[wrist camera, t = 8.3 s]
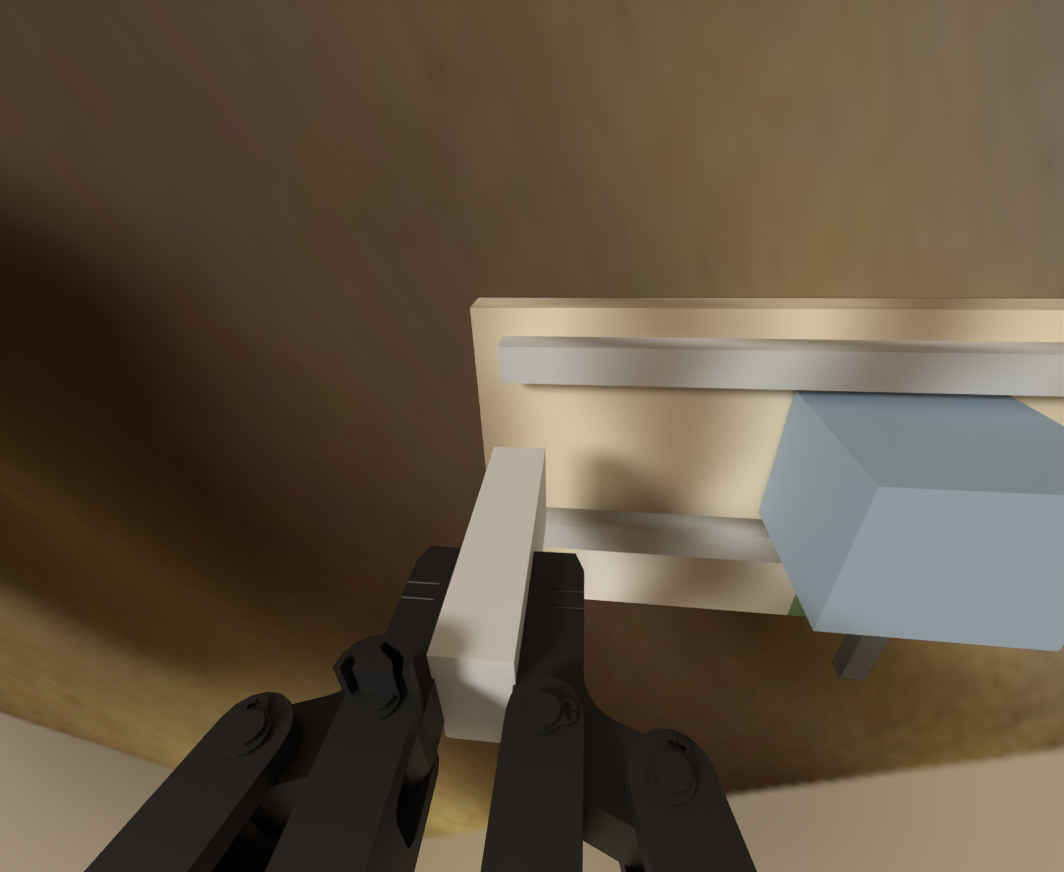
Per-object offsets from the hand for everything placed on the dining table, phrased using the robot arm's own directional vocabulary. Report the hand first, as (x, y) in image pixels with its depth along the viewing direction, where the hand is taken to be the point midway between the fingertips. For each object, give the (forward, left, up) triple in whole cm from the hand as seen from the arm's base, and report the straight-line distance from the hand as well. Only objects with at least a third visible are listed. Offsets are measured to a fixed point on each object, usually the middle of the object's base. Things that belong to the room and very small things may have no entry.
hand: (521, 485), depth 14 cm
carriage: (+11, -3, -3) cm, 12 cm away
